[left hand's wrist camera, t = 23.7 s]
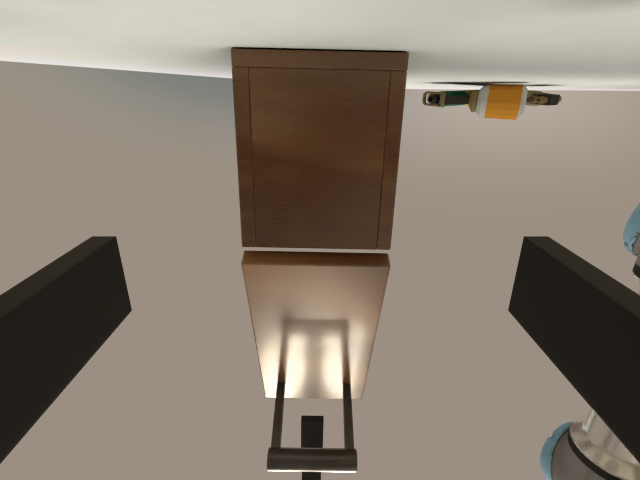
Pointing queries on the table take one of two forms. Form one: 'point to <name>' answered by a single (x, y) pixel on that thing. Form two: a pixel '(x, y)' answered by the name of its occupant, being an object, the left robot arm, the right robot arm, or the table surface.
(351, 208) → the chest
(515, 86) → the spray gun
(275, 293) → the lid
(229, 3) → the table surface
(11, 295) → the left robot arm
